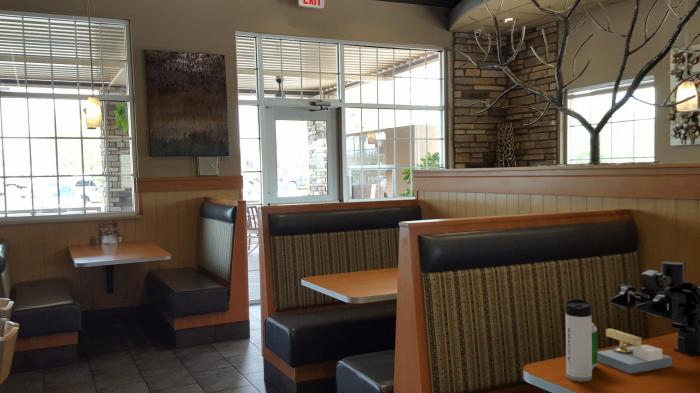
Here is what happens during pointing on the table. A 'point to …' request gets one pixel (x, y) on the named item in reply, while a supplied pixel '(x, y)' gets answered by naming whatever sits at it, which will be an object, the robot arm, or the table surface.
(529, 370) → the table surface
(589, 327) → the travel mug
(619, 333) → the brass door handle
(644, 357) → the white square block
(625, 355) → the lock plate
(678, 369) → the table surface
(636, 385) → the table surface
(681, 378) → the table surface
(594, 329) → the soda can
